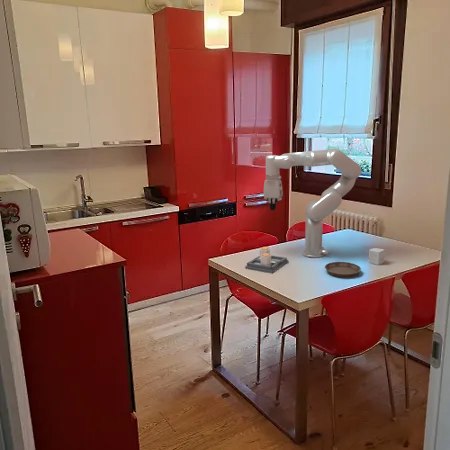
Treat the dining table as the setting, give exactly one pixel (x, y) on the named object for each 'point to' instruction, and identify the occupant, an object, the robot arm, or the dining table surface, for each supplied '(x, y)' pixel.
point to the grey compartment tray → (275, 265)
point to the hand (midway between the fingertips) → (272, 209)
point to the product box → (376, 256)
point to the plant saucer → (342, 269)
